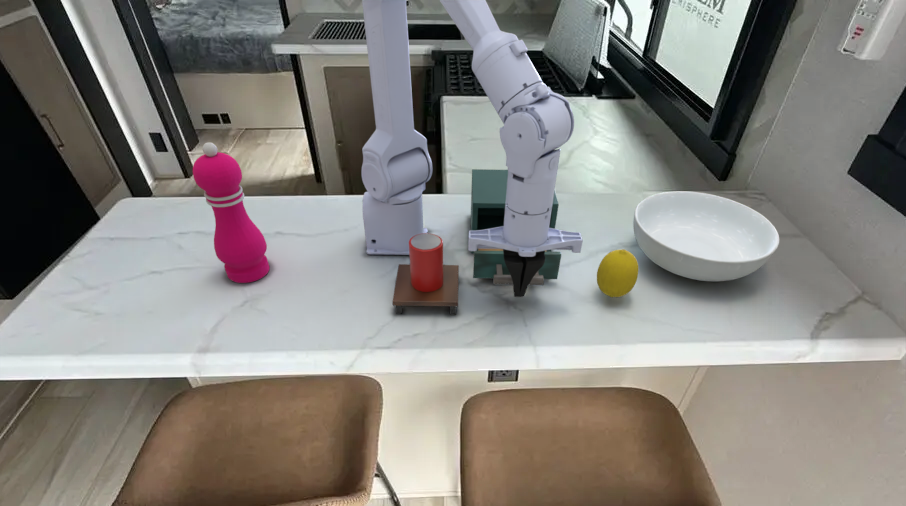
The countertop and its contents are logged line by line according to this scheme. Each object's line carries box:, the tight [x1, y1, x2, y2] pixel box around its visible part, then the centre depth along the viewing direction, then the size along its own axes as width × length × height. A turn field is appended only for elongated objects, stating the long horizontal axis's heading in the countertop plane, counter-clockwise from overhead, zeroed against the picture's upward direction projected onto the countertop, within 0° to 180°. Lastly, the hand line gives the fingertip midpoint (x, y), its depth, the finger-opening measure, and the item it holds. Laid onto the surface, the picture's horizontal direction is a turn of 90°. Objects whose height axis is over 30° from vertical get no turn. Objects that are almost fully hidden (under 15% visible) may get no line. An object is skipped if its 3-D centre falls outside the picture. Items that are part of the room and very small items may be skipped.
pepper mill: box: [192, 141, 270, 284], centre depth 72 cm, size 7×7×20 cm
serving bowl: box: [632, 190, 780, 282], centre depth 80 cm, size 21×21×7 cm
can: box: [408, 232, 444, 292], centre depth 71 cm, size 5×5×7 cm
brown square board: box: [392, 263, 460, 315], centre depth 74 cm, size 9×9×2 cm
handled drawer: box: [472, 249, 562, 286], centre depth 78 cm, size 13×16×4 cm
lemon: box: [596, 248, 639, 298], centre depth 72 cm, size 6×6×8 cm
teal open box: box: [470, 168, 559, 254], centre depth 85 cm, size 13×12×9 cm
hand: (518, 292), depth 72 cm, fingers closed, pressing on handled drawer
